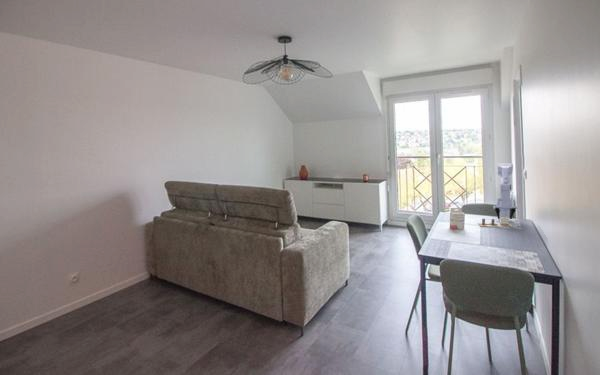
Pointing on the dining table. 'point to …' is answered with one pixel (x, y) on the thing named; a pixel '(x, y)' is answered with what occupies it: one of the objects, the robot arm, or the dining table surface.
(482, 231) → the dining table surface
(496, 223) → the mat
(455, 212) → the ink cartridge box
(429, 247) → the dining table surface
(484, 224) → the pin board
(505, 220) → the sleeve
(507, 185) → the robot arm
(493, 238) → the dining table surface
